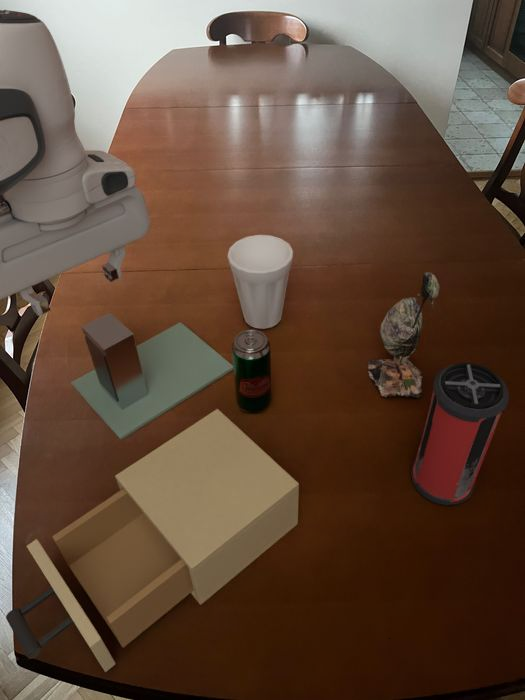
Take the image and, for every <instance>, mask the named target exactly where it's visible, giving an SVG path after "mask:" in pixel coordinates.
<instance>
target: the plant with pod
mask: <svg viewBox="0 0 525 700" xmlns="http://www.w3.org/2000/svg"><path fill="white" fill-rule="evenodd" d="M420 289H421V291H420V293H417V296H421V298H422V299H421V305H420V304H419V301H418V299H417V298H416V297H413V296H409V297H405V298H402V299H401V300H400V301H397V303H395V304H394V305H393V306H392V307H391V308H390V309H389V310H388V312H386V315H385V316H384V318H383V321H382V322H381V324H380V331H379V332H380V338H381V340H382V343H383V348H384V349H385V350H386V351H387V352H388V354H389V355H391V356H393V358H388V359H386V358H384V359H375V358H374V359H372V360H369V361H368V362H367V368H368V371H367V373H368V376H369V378H370V379H371V380H372V381H373V382H375V383H374V385H375V386H377V387H378V390H379V392H380V396H382V397H385V398H388V397H389V398H391V397H397V395H398V396H399V397H400V396H402V397H403V396H405V398H408V397H413V398H417V399H419V398H420V397H421V396H423V390H422V380H423V379H422V378H423V376H422V372H421V371H420V369H419V367H417V366H414V364H413V362H412V361H410V359H409V358H410V356H412V355H413V354H414V353H416V350H417V349H418V344H419V341H420V339H421V335H422V331H423V325H424V322H423V312H422V310H423V308H424V306H425V304H426V302H427V300H429V302H430V307H431V309H432V310H434V309H435V306H434V301H435V299H437V297H438V296H439V292H440V283H439V281H438V279H437V277H436V275H434V273H432V272H427V271H425V272H423V274H422V280H421V287H420Z"/></svg>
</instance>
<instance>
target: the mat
mask: <svg viewBox="0 0 525 700" xmlns="http://www.w3.org/2000/svg"><path fill="white" fill-rule="evenodd" d="M136 347H137V351H138V355H139V359H140V364H141V368H142V372H143V376H144V380H145V384H146V388H147V392H148V395H147V396H145V397H143V398H142V399H140V400H138V401H137V402H135V403H133V404H132V405H130V406H128V407H127V408H125V409H123V410H122V409H121V408H120V407H119V406H118V405H117V404H116V403H115V402H114V401H113V400H112V399H111V397H110V396H109V395H108V394H107V393H106V392H105V391H104V390H103V389H102V388H101V386H100V383H99V380H98V377H97V374H96V370H95V368H94V369H92V370H90V371H88V372H87V373H85V374H83V375H81V376H80V377H78V378H76V379H74V380H72V381H71V382H70V384H71V386H72V387H73V388H74V389H75V390H76V391H77V392H78V394H80V396H81V397H82V398H83V400H84V401H86V403H87V404H88V405H89V406H90V407H91V409H92V410H93V411H94V412H95V414H97V415H98V416H99V417H100V418H101V420H102V421H103V422H104V423H105V424H106V425H107V427H108V428H109V429H110V430H111V432H113V433H114V435H115V436H116V437H117V438H118V439H119V440H120V441H122V440H123V439H126V438H127V437H129V436H130V435H132V434H133V433H135V432H136V431H138V430H139V429H141V428H143V427H144V426H146V425H148V424H149V423H150V422H152V421H154V420H155V419H157V418H159V417H160V416H162V415H163V414H165V413H167V412H168V411H170V410H171V409H173V408H174V407H176V406H178V405H179V404H181V403H182V402H184V401H186V400H188V399H189V398H190V397H192V396H194V395H195V394H197V393H199V392H200V391H202V390H203V389H205V388H206V387H208V386H210V385H211V384H213V383H215V382H216V381H218V380H219V379H221V378H222V377H224V376H226V375H227V374H229V373H231V372H232V371H234V367H233V364H232V363H230V362H229V361H228V360H227V359H225V358H224V356H222V355H221V354H220V353H218V352H217V351H216V350H215V349H214V348H212V347H211V346H210V345H209V344H208V343H207V342H205V341H204V340H203V339H202V338H201V337H199V336H198V335H197V334H195V333H194V332H193V331H192V330H191V329H189V327H187V326H186V325H185V324H184V323H182V322H180V321H179V322H178V323H175V324H174V325H172V326H171V327H168V328H167V329H165V330H163V331H162V332H160V333H158V334H156V335H154V336H152V337H150V338H149V339H147V340H145V341H143V342H141V343H140V344H138V345H136Z"/></svg>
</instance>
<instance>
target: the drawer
mask: <svg viewBox="0 0 525 700" xmlns="http://www.w3.org/2000/svg"><path fill="white" fill-rule="evenodd" d="M51 537H52V540H53V541H54V544H55V545H56V547H57V548H58V550H59V552H60V555H61V556H62V558H63V559H64V562H65V563H66V565H67V566H68V568H69V569H70V571H71V573H72V574H73V575H74V577H75V579H76V580H77V581H78V583H79V584H80V586H81V588H82V589H83V590H84V593H86V595H87V596H88V598H89V599H90V601H91V602H92V604H93V606H94V607H95V609H96V610H97V612H98V613H99V615H100V616H101V617H102V619H103V620H104V622H105V624H106V626H107V627H108V628H109V629H110V631H111V633H112V634H113V636H114V637H115V639H116V640H117V642H118V643H119V644H120V646H121V648H125V647H126V646H127V645H129V644H130V643H131V642H132V641H133V640H135V639H136V638H137V637H139V636H140V635H141V634H142V633H144V632H145V631H146V630H147V629H148V628H150V627H151V626H152V625H153V624H154V623H155V622H157V621H158V620H159V619H161V617H163V616H164V615H165V614H167V613H168V612H169V611H170V610H172V609H173V608H174V607H175V606H176V605H178V604H179V603H180V602H181V601H183V600H184V599H185V598H186V597H187V596H189V595H190V594H191V592H192V591H193V590H194V588H193V584H192V580H191V576H190V572H189V568H188V566H187V565H186V564H185V563H184V561H183V560H182V559H181V558H180V557H179V555H178V554H177V553H176V552H175V550H174V549H173V548H172V547H171V546H170V544H169V543H168V542H167V541H166V540H165V538H164V537H163V536H162V535H161V533H160V532H159V531H158V530H157V529H156V527H155V526H154V525H153V524H152V522H151V521H150V520H149V519H148V518H147V516H146V515H145V514H144V513H143V512H142V510H141V509H140V508H139V507H138V505H137V504H136V503H135V502H134V501H133V499H132V498H131V497H130V496H129V494H128V493H127V492H126V491H125V490H124V488H123V489H122V490H120V489H119V491H118V492H116V493H114V494H113V495H112V496H110V497H108V498H107V499H106V500H104V501H102V502H101V503H100V504H98V505H96V506H95V507H94V508H92V509H90V510H89V511H88V512H86V513H84V514H83V515H81V516H80V517H79V518H77V519H75V520H74V521H73V522H71V523H70V524H68V525H67V526H65V527H64V528H62V529H61V530H59V531H58V532H56V533H55V534H53V535H52V536H51ZM26 548H27V549H28V551H29V553H30V554H31V556H32V557H33V560H34V561H35V562H36V564H37V566H38V567H39V569H40V570H41V572H42V573H43V575H44V577H45V578H46V580H47V581H48V583H49V584H50V587H48V588H47V589H46V590H43V592H41V593H40V594H39V595H38V596H36V597H34V598H33V599H32V600H30V601H29V602H28V603H26V604H25V605H23V606H22V607H21V608H13V609H11V610H10V611H8V613H6V617H5V620H6V622H7V623H8V625H9V626H10V629H11V631H12V632H13V634H14V636H15V638H16V639H17V641H18V643H19V645H20V647H21V649H22V650H23V652H24V654H25V656H26V658H27V659H28V660H31V659H34V658H36V657H37V656H38V655H39V654H41V652H42V648H43V647H44V646H46V645H47V644H48V643H50V642H51V641H52V640H54V639H55V638H56V637H57V636H59V635H60V634H61V633H63V632H64V631H65V630H67V629H68V628H70V627H71V626H72V625H73V624H74V625H75V626H76V628H77V629H78V631H79V633H80V634H81V636H82V637H83V639H84V641H85V642H86V644H87V645H88V647H89V649H90V650H91V652H92V653H93V655H94V657H95V658H96V660H97V662H98V663H99V665H100V666H101V668H102V669H103V672H104V673H107V672H108V671H109V670H110V669H112V668H113V667H114V666H115V665H116V661H115V660H114V658H113V656H112V655H111V653H110V651H109V649H108V648H107V646H106V643H105V642H104V641H103V639H102V637H101V636H100V634H99V633H98V631H97V629H96V628H95V626H94V624H93V623H92V622H91V620H90V618H89V617H88V615H87V614H86V612H85V611H84V609H83V608H82V605H81V604H80V603H79V602H78V599H77V598H76V597H75V595H74V593H73V592H72V590H71V589H70V587H69V586H68V585H67V583H66V581H65V580H64V578H63V577H62V575H61V573H60V572H59V571H58V569H57V568H56V566H55V564H54V563H53V561H52V560H51V558H50V556H49V555H48V554H47V552H46V550H45V549H44V547H43V546H42V544H41V542H40V541H39V539H37V538H35V539H34V540H32V542H30V543H28V544H27V545H26ZM54 594H56V596H57V598H58V599H59V601H60V602H61V604H62V606H63V607H64V609H65V610H66V612H67V613H68V615H69V616H68V617H67V618H65V619H64V620H63V621H61V622H60V623H59V624H58V625H56V626H55V627H54V628H52V629H51V630H50V631H48V632H47V633H46V634H44V635H43V636H41V637H40V638H38V639H37V637H36V636H35V634H34V632H33V630H32V628H31V627H30V625H29V624H28V622H27V620H26V618H25V616H26V615H27V614H29V613H30V612H31V611H33V609H35V608H37V607H38V606H39V605H41V604H43V603H44V602H45V601H46V600H47V599H49V598H50V597H53V595H54Z"/></svg>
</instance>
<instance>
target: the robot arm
mask: <svg viewBox="0 0 525 700" xmlns="http://www.w3.org/2000/svg"><path fill="white" fill-rule="evenodd" d="M51 33H52V32H51V31H50V29H49V28H48V26H47V25H46V24H45V22H44V21H43V20H42V19H40V18H39V17H37V16H36V15H33V14H31V13H28V12H23V11H16V10H8V9H4V10H3V9H0V197H2V196H3V200H4V201H2V202H0V301H1V300H4V299H6V298H8V297H10V296H12V295H15V294H17V295H18V296H20V298H22V300H24V301H26V302H28V303H29V304H30V307H31V309H32V311H33V313H34V314H36V315H37V317H40V316H42V315H44V314H45V315H46V314H47V313H49V312H50V311H51V307H50V306H49V305H50V303H49V300H48V299H47V298H46V297H45V296H44V295H43V294H42V293H41V292H39V293H36V294H34V289H33V286H36V285H37V284H40V283H43V282H45V281H47V280H49V279H51V278H54V277H56V276H59V275H60V274H63V273H65V272H68V271H70V270H71V269H74V268H76V267H79V266H81V265H83V264H86V263H89V262H91V261H93V260H95V259H97V258H99V257H102V256H104V255H107V254H108V253H109V255H108V259H107V262H106V263H103V264H102V265H101V268H102V270H103V275H104V277H105V279H106V280H108V281H109V282H110V283H113V282H116V281H117V280H119V279H121V278H122V277H123V274H122V270H121V269H122V268H121V267H122V264H123V262H124V258H125V256H126V253H127V251H126V250H127V249H126V245H129V244H131V243H133V242H136V241H138V240H141V239H142V238H146V236H147V235H148V233H149V230H150V228H151V220H150V215H149V210H148V207H147V203H146V199H145V197H144V194H143V191H141V189H140V188H139V187H138V186H136V182H137V176H136V171H135V170H134V169H133V168H132V166H130V165H129V164H128V163H126V162H125V161H124V160H122V159H119V157H117V156H115V155H112V154H111V153H109V152H106V151H104V150H99V149H98V150H97V149H96V150H95V149H94V150H90V149H89V150H88V149H87V150H86V149H85V147H84V145H83V143H82V141H81V139H80V138H79V136H78V133H77V131H76V125H75V123H76V122H75V120H76V119H75V118H76V110H75V109H76V108H75V104H74V100H73V99H74V98H73V94H72V91H71V87H70V84H69V79H68V75H67V72H66V68H65V65H64V62H63V60H62V56H61V54H60V51H59V48H58V46H57V43H56V41H55V39H54V37H53V35H52V34H51Z"/></svg>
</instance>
